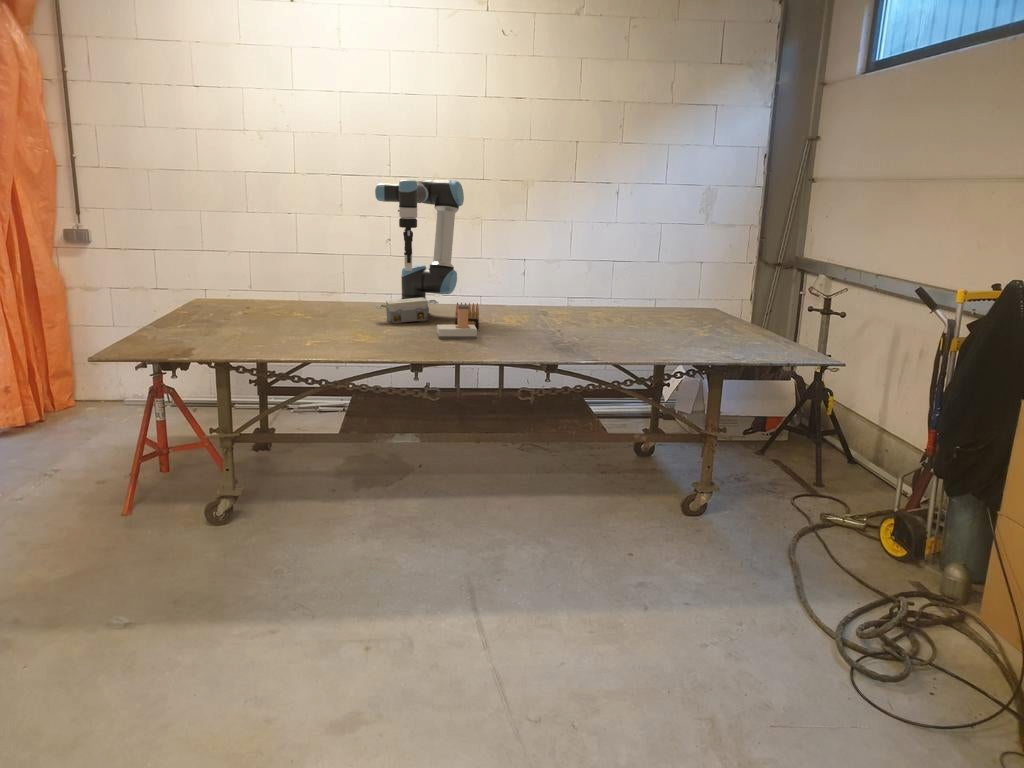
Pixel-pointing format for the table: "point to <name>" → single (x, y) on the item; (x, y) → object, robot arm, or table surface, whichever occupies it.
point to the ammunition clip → (470, 315)
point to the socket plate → (456, 332)
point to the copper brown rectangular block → (462, 316)
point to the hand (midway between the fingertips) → (408, 268)
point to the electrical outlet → (407, 310)
